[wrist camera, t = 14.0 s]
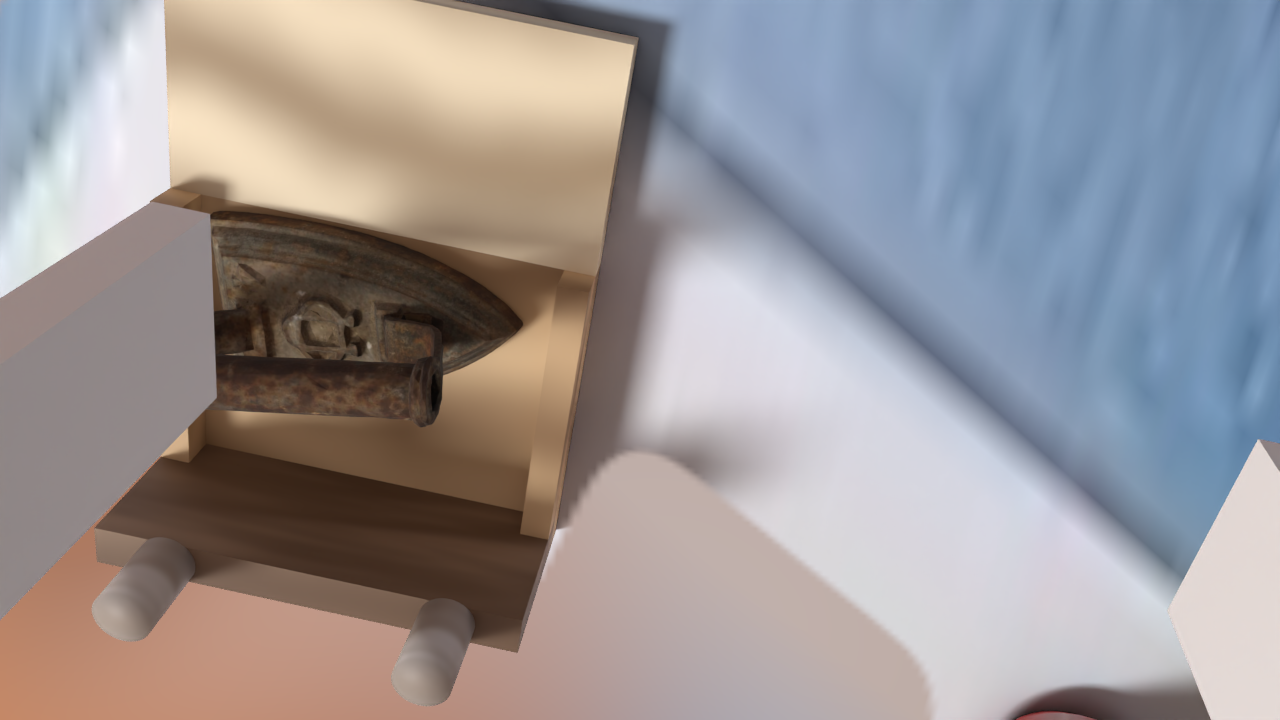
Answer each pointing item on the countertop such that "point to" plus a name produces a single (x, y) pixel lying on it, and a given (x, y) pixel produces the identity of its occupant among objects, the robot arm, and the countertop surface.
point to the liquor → (1053, 716)
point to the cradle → (422, 221)
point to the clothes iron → (341, 321)
